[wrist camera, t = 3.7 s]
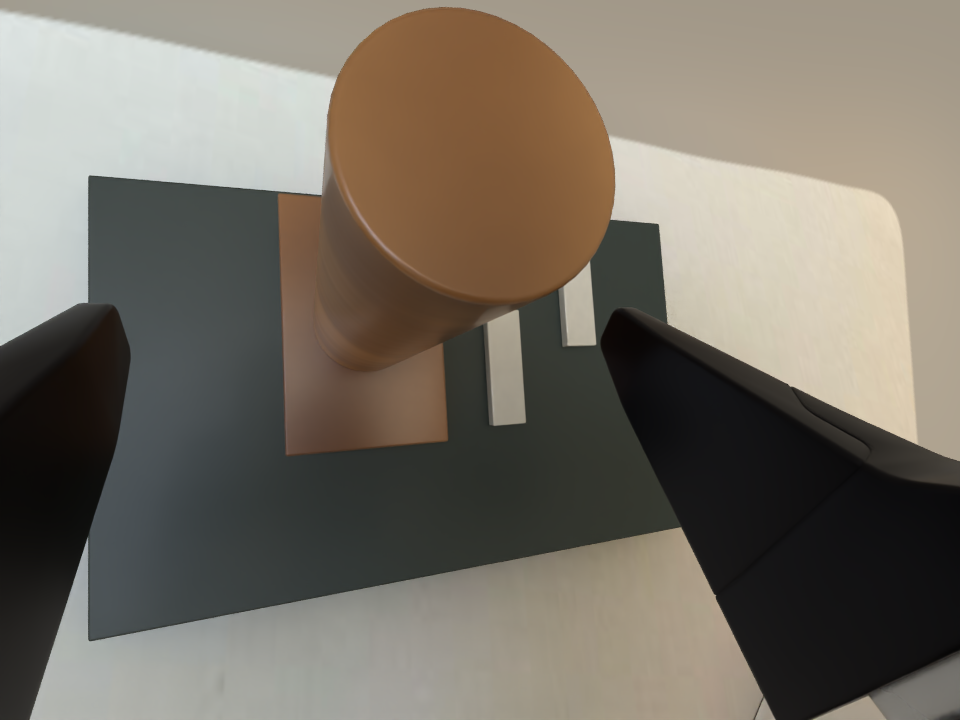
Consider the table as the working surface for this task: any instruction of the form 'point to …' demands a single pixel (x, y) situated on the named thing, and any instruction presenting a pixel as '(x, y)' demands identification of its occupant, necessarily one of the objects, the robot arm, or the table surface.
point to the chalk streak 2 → (577, 311)
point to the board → (335, 475)
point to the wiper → (431, 220)
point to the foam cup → (836, 712)
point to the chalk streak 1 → (504, 370)
